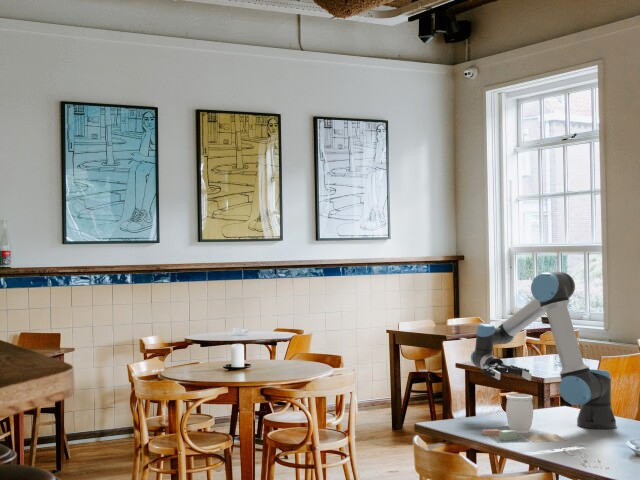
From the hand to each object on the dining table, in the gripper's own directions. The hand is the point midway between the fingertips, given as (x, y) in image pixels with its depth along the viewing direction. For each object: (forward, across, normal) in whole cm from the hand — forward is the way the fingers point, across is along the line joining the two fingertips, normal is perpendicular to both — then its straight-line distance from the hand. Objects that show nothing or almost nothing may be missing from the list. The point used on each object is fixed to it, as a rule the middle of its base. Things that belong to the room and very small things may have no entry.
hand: (515, 376), depth 328 cm
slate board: (+22, +11, -20) cm, 32 cm away
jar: (+9, 0, -21) cm, 23 cm away
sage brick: (+22, +12, -19) cm, 31 cm away
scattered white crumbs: (+54, -1, -16) cm, 56 cm away
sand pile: (+24, -2, -19) cm, 30 cm away
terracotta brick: (+12, +14, -21) cm, 28 cm away
